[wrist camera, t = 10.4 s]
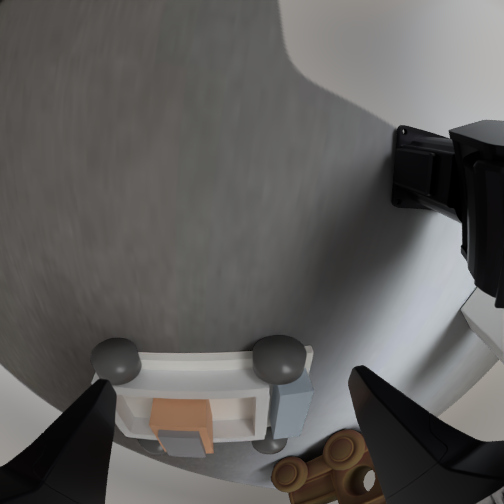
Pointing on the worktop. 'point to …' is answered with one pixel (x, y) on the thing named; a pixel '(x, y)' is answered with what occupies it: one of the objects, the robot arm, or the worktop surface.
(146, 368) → the chassis
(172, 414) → the tan box grey panel
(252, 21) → the worktop surface
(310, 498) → the wooden toy train
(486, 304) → the milk carton
